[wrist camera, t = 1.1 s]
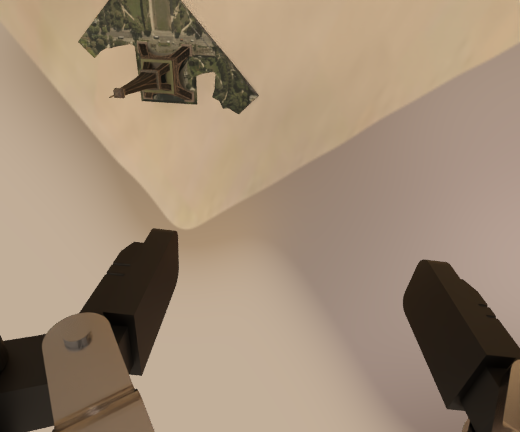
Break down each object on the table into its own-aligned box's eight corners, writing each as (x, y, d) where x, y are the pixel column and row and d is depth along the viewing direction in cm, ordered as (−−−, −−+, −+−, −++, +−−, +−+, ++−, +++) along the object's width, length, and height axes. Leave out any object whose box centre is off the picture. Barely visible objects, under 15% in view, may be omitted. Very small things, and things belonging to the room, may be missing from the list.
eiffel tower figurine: (262, 94, 33) (256, 131, 21) (194, 157, 37) (157, 218, 25) (145, -46, 28) (53, -97, 16) (78, 44, 31) (-36, 54, 20)
